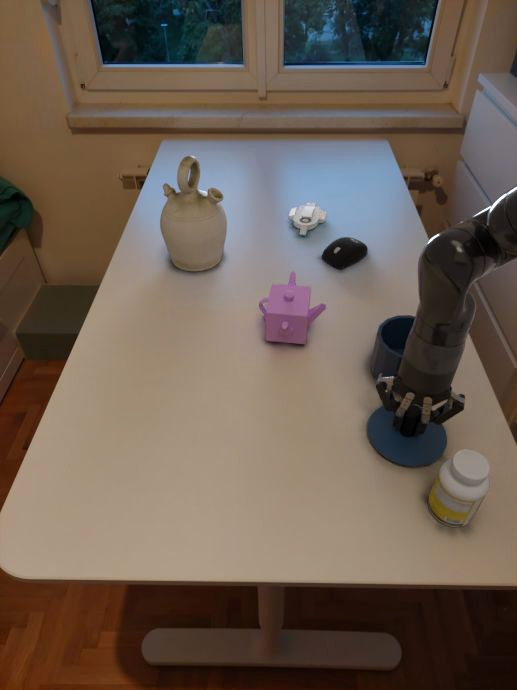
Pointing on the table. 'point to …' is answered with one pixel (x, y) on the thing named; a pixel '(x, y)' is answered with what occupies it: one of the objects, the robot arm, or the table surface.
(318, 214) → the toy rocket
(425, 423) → the robot arm
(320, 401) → the table surface
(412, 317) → the pot
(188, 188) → the jug
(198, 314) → the table surface
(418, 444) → the lid
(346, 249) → the computer mouse
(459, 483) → the pill bottle
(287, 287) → the teapot
